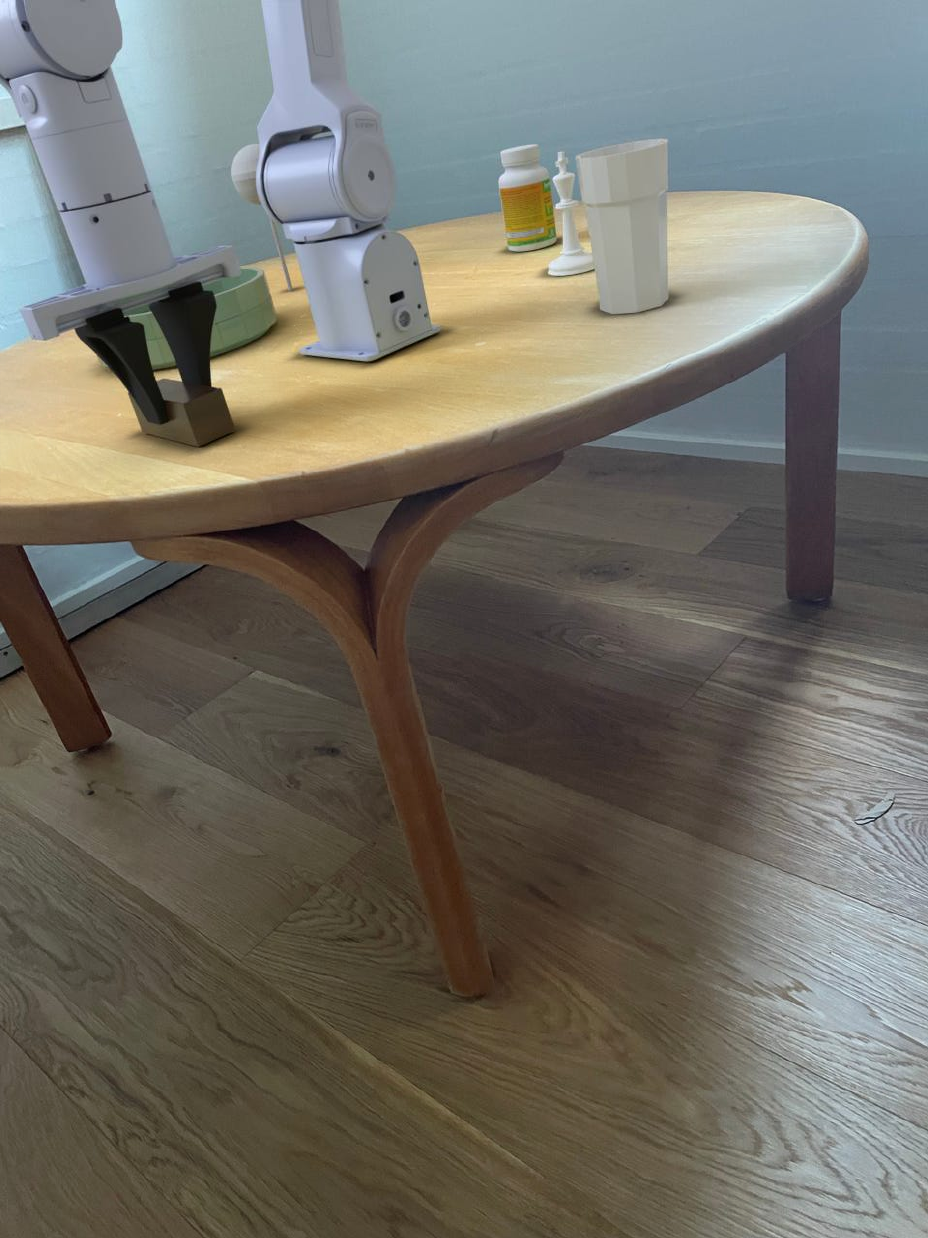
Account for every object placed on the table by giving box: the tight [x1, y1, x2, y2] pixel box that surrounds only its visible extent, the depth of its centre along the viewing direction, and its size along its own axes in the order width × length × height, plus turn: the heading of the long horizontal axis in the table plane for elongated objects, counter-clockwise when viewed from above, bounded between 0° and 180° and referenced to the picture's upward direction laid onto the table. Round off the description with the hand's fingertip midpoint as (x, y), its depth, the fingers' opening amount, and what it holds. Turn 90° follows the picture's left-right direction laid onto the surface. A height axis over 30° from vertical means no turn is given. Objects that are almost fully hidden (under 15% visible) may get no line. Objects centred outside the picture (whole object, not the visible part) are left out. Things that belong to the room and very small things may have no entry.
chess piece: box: [547, 150, 595, 277], centre depth 83 cm, size 5×5×10 cm
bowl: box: [96, 266, 277, 371], centre depth 87 cm, size 17×17×5 cm
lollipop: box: [230, 143, 294, 292], centre depth 100 cm, size 6×6×15 cm
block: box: [127, 378, 236, 448], centre depth 63 cm, size 8×3×3 cm, turn 46°
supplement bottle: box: [497, 143, 557, 253], centre depth 97 cm, size 5×5×10 cm
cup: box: [575, 138, 670, 315], centre depth 68 cm, size 7×7×11 cm
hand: (181, 412), depth 63 cm, fingers closed on block, 3 cm apart
